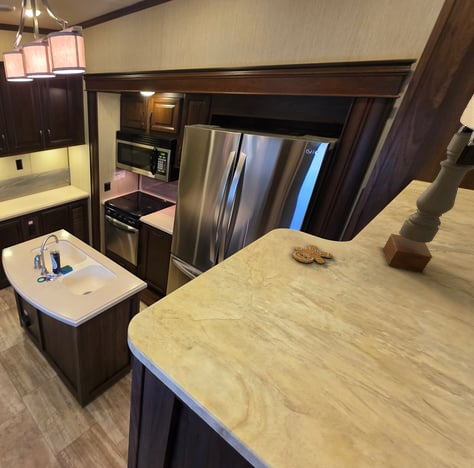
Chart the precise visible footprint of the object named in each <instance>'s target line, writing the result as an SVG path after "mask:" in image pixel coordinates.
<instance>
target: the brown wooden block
mask: <svg viewBox="0 0 474 468" xmlns="http://www.w3.org/2000/svg"><path fill="white" fill-rule="evenodd" d="M383 252H384V255H385V258H386V262H387V265H388V267H389V266H390V267H395V268H399V269H403V270H406V271H413V272H416V273H420V274H421V273H423V272H424V270H425V269H426V268H427V266H428V264H429V263H430V261H431V260H432V259H433V255H432V253H431V251H430V250H429V248H428V246H427V243H421V242H415V241H411V240H409V239H406V238H404V237H402V236H401V235H400V234H396V233H395V234H394V233H391V234H390V235H389V237H388V239H387V240H386V243H385V245H384V246H383Z"/></svg>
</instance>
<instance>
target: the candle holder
mask: <svg viewBox="0 0 474 468" xmlns="http://www.w3.org/2000/svg"><path fill="white" fill-rule="evenodd" d="M471 135H472V133H457V132H455V133H454V134H453V136H452V138H451V140H450V142H449V143H448V145H447V147H446V150H447V151H446V152H447V156H446V157H447V159H444V160H442V161H440V163H439V165H440V166H441V169H440V171H439V173H438V174H437V176H436V177H435V180H433V181H432V183H431V184H430V185H429V186H428V187H427V188H426V189H425V190H424V191H423V192H422V193H421V194H420V195H419V196H418V197H417V199H416V201H415V202H416V208H417V209H416V212H414V213H412V214H410V215H409V216H408V219H405V220H404V221H403V224H402V225H401V227H400V230H399V231H398V235H401V236H402V237H404V238H406V239H409V240H411V241H415V242H421V243H425V244H427V243H431V242H432V241H433V240H434V238H436V235H437V234H438V233H439V230H440V229H439V228H440V226H441V225H442V222H441V219H440V217H442V216H443V214H446V213H448V212H450V211H451V210H452V209H453V208H454V206H455V202H456V200H457V199H456V198H457V195H458V190H459V186H460V184H461V182H462V181H463V178H464V177H465V175H467V173H468V172H469V171H472V170H474V166H472V165H460V164H456V163H455V161H456V159H457V157H458V156H459V154H460V152H461V150H462V149H463V147H464V145H468V143H469V140H470V138H471Z"/></svg>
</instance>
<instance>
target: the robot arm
mask: <svg viewBox="0 0 474 468" xmlns="http://www.w3.org/2000/svg"><path fill="white" fill-rule="evenodd" d="M459 121H460V123H461V125H460V127H459V129H458V131H456V133H472V135H471V138H470V140H469V143H468V145H464V147H463V149H462V150H461V152H460V154H459V156H458V157H457V159H456V161H455V163H456V164H460V165H472V166H474V94H473V95H472V96H471V98H470V100H469V101H468V103H467V105H466V107H465V109H464V111H463V112H462V115H461V116H460V120H459ZM445 156H446V157H447V151H446V152H445Z"/></svg>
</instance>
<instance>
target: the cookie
mask: <svg viewBox="0 0 474 468" xmlns="http://www.w3.org/2000/svg"><path fill="white" fill-rule="evenodd" d="M292 257H293V258H294V259H295V260H297V261H299V262H300V263H304V264H311V263H313V262H314V261H315V262H316V263H318V264H325V263H326V261H325V259H324V258H328V259H332V258H333V257H334V256H333V255H332V254H331V253H329V252H328V251H327V252H326V251H322V250H320V249H319V248H318V247H317V246H316V245H313V244H308V249H307V248H305V247H300V246H297V247H296V248H295V252H294V253H292Z"/></svg>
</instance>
